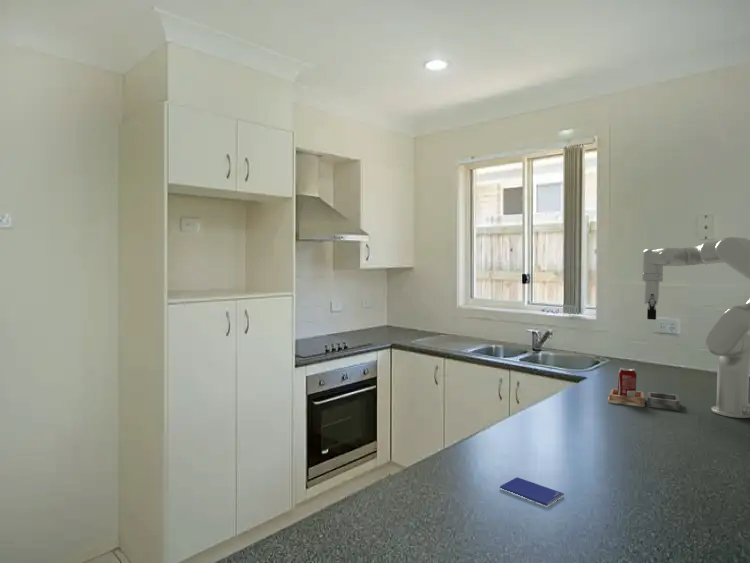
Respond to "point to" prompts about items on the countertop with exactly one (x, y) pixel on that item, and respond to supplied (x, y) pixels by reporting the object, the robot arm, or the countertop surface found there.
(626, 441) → the countertop surface
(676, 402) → the dock
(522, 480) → the hard drive
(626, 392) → the soda can
